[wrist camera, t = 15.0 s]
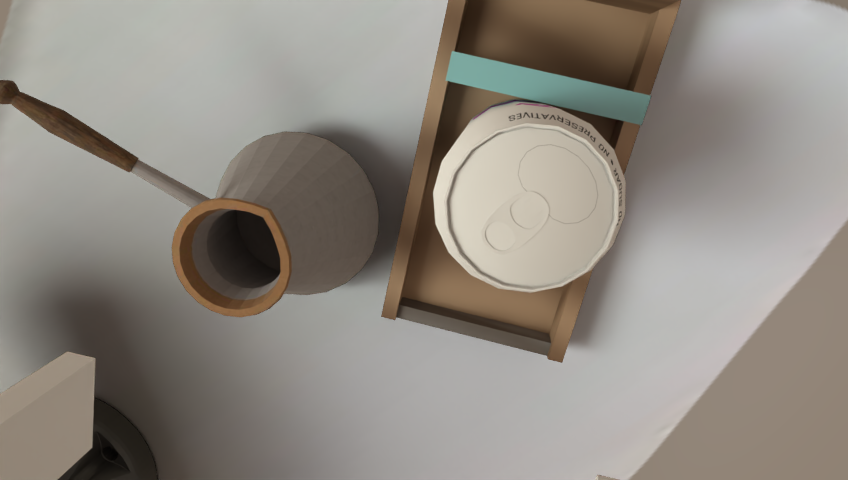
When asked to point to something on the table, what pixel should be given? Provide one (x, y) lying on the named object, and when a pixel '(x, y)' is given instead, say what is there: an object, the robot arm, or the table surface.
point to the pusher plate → (547, 88)
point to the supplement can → (529, 197)
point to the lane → (457, 104)
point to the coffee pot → (252, 214)
